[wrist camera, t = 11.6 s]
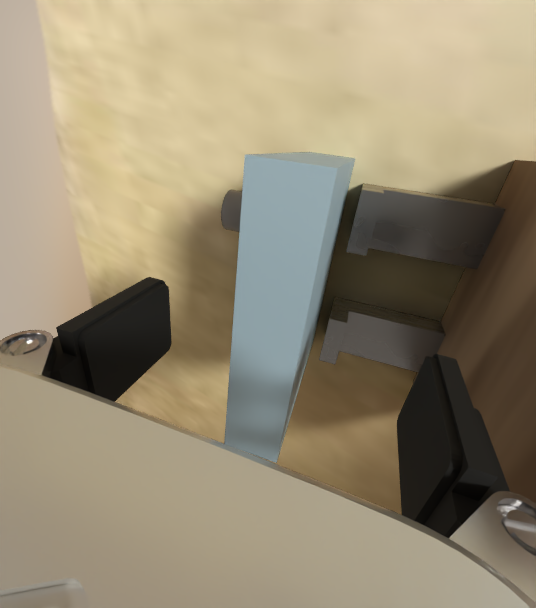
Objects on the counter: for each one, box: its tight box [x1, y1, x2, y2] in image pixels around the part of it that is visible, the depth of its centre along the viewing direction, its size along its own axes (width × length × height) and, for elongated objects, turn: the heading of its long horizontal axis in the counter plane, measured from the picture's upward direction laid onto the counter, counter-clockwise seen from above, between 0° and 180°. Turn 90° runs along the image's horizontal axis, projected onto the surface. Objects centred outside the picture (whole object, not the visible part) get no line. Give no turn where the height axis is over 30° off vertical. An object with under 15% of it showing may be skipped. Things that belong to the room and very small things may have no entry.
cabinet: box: [413, 160, 536, 503], centre depth 12 cm, size 4×14×12 cm, turn 173°
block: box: [221, 152, 355, 463], centre depth 15 cm, size 4×12×10 cm, turn 173°
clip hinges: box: [319, 183, 506, 372], centre depth 18 cm, size 12×10×3 cm
